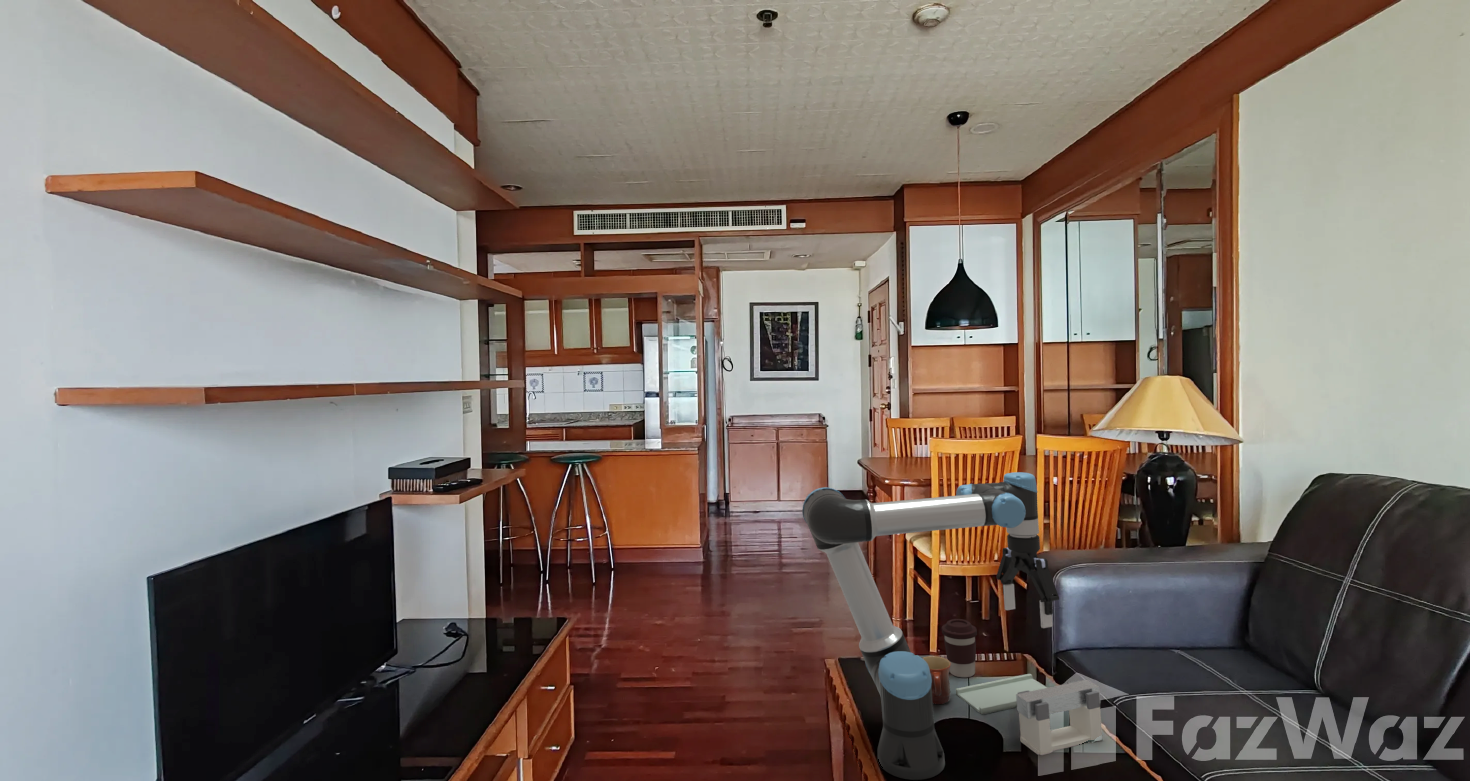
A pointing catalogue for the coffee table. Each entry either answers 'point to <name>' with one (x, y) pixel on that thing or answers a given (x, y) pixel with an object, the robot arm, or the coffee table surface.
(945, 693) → the mug
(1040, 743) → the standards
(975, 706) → the pad
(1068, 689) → the rail
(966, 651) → the coffee cup
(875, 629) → the robot arm
